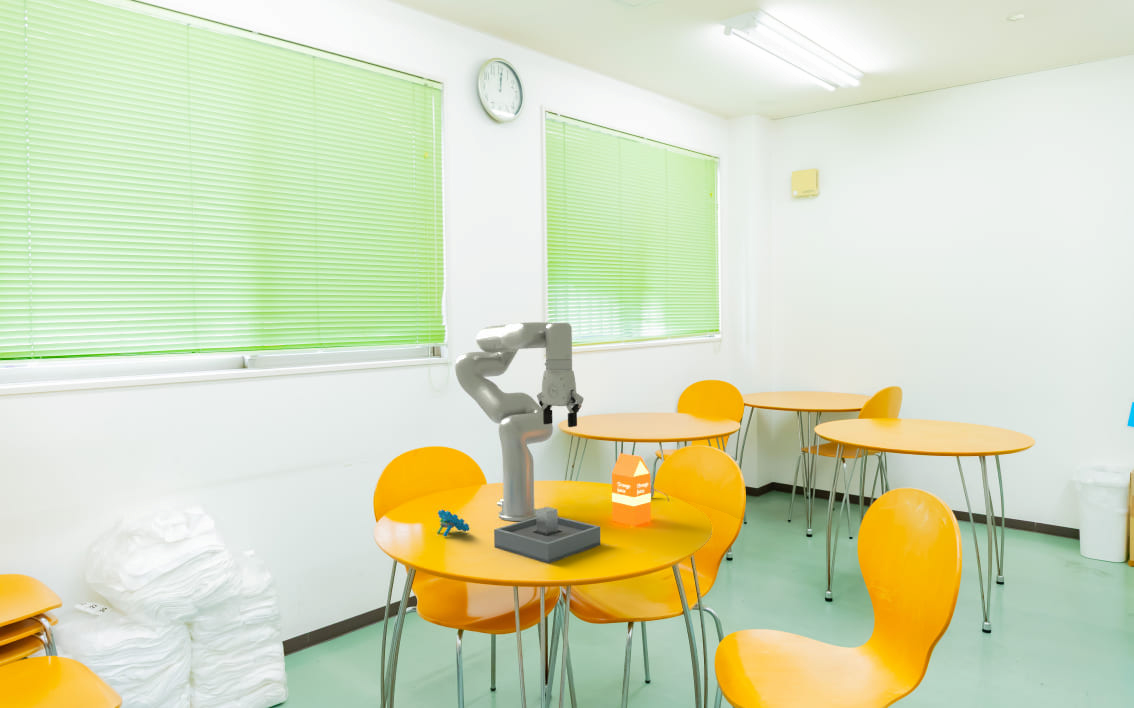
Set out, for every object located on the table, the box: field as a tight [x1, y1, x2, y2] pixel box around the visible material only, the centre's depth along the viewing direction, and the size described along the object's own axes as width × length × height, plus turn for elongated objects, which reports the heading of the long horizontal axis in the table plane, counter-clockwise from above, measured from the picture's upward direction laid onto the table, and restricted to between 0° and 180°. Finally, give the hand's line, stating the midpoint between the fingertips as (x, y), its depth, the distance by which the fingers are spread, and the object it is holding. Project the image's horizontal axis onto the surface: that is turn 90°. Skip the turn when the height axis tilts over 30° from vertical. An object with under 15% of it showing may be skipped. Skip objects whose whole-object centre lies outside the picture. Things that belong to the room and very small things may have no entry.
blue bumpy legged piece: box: [436, 509, 471, 538], centre depth 200 cm, size 11×6×10 cm
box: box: [493, 516, 601, 565], centre depth 189 cm, size 20×20×5 cm
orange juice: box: [611, 453, 652, 527], centre depth 212 cm, size 8×9×20 cm
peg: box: [536, 506, 559, 536], centre depth 189 cm, size 4×4×9 cm
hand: (560, 425), depth 204 cm, fingers open, 9 cm apart
